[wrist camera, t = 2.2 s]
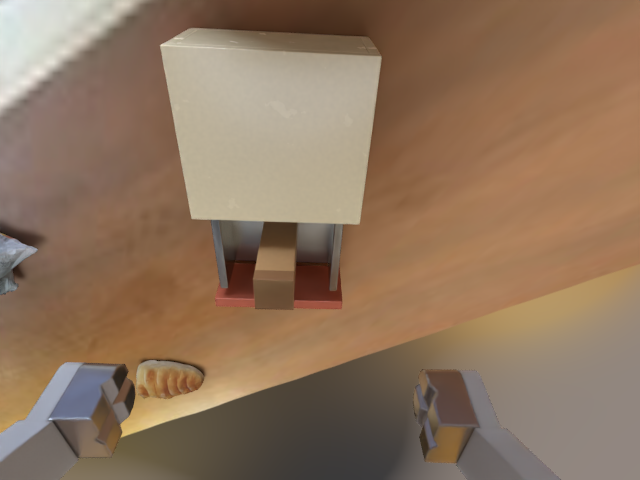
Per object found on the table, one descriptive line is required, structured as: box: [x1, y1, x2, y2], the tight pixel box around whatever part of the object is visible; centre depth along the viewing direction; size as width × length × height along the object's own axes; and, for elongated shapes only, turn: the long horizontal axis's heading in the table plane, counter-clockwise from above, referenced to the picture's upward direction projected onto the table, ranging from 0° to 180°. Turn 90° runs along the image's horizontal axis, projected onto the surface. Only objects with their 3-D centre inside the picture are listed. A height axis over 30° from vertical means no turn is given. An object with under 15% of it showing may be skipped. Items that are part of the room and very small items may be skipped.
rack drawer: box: [211, 220, 343, 309], centre depth 40 cm, size 14×13×6 cm
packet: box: [253, 221, 298, 310], centre depth 37 cm, size 4×3×10 cm
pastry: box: [136, 360, 204, 399], centre depth 57 cm, size 9×7×4 cm
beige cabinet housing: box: [160, 28, 382, 224], centre depth 32 cm, size 14×15×8 cm
